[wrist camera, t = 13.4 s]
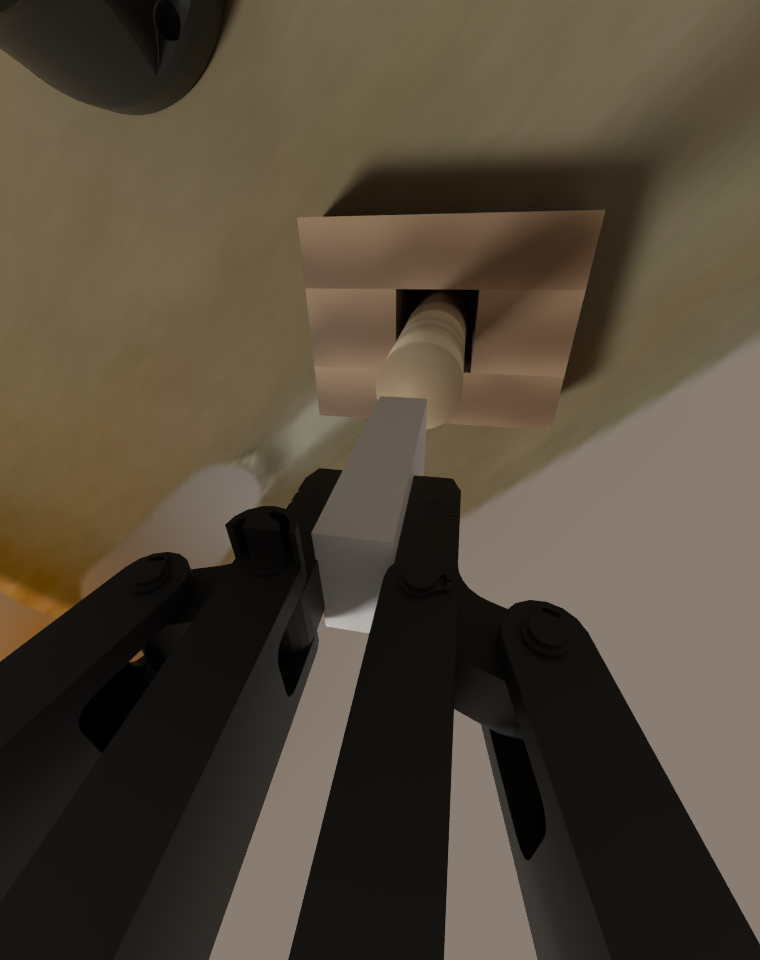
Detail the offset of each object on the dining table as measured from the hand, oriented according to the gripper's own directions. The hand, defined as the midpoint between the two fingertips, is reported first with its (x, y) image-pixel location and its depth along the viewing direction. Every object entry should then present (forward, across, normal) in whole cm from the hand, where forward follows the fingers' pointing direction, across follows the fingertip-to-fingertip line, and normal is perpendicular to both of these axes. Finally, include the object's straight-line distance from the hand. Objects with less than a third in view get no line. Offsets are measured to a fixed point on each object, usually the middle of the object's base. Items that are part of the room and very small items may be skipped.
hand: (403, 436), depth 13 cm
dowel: (+18, 0, 0) cm, 18 cm away
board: (+18, 0, 0) cm, 18 cm away
